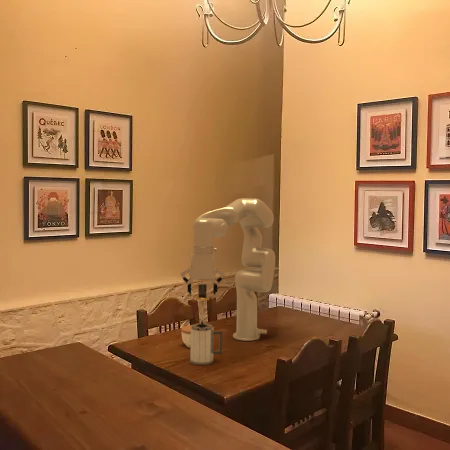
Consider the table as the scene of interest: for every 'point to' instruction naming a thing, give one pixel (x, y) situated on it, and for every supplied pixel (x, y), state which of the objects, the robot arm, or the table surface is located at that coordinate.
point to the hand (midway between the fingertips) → (202, 293)
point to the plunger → (202, 298)
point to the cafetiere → (203, 344)
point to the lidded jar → (186, 335)
